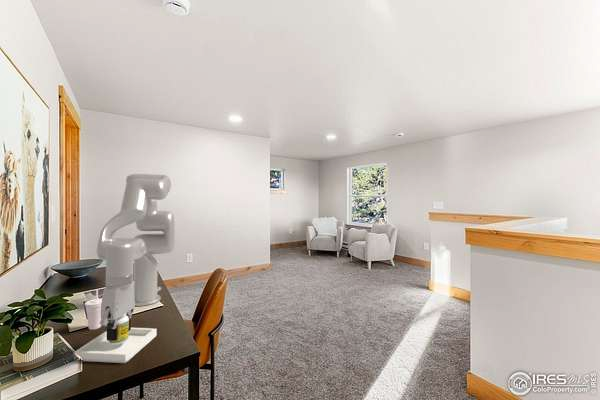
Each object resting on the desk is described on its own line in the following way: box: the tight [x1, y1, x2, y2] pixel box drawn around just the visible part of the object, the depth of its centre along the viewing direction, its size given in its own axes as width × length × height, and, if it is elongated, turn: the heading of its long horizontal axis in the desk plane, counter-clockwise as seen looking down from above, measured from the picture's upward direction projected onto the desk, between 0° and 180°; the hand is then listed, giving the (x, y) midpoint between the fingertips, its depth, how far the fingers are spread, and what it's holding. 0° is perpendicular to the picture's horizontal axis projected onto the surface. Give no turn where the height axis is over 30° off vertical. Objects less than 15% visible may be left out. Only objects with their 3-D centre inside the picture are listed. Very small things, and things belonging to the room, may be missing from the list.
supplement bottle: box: [109, 313, 129, 345], centre depth 89 cm, size 5×5×10 cm
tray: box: [74, 327, 158, 364], centre depth 89 cm, size 16×16×2 cm
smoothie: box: [84, 289, 102, 331], centre depth 102 cm, size 6×6×14 cm
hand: (119, 334), depth 89 cm, fingers closed on supplement bottle, 5 cm apart
